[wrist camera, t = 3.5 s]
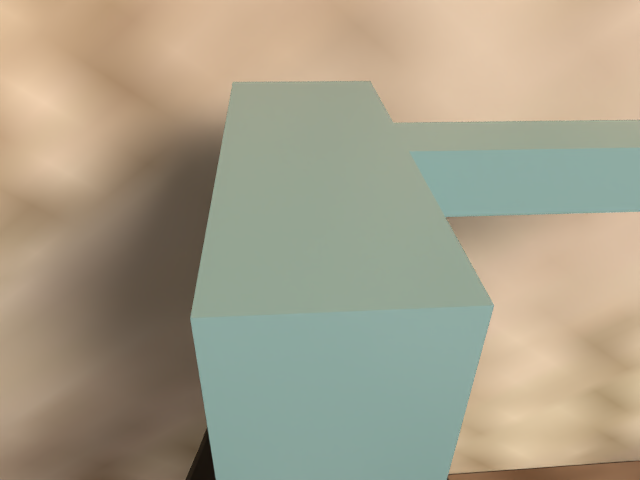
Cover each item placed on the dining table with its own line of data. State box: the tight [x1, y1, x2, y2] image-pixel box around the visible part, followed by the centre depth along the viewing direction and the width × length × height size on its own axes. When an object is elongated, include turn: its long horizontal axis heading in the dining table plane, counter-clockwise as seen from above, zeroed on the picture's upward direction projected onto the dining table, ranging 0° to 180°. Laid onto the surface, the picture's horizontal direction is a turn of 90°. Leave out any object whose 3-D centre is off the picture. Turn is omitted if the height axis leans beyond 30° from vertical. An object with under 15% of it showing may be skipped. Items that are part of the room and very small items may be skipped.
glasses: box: [190, 81, 640, 480], centre depth 11 cm, size 10×14×6 cm
